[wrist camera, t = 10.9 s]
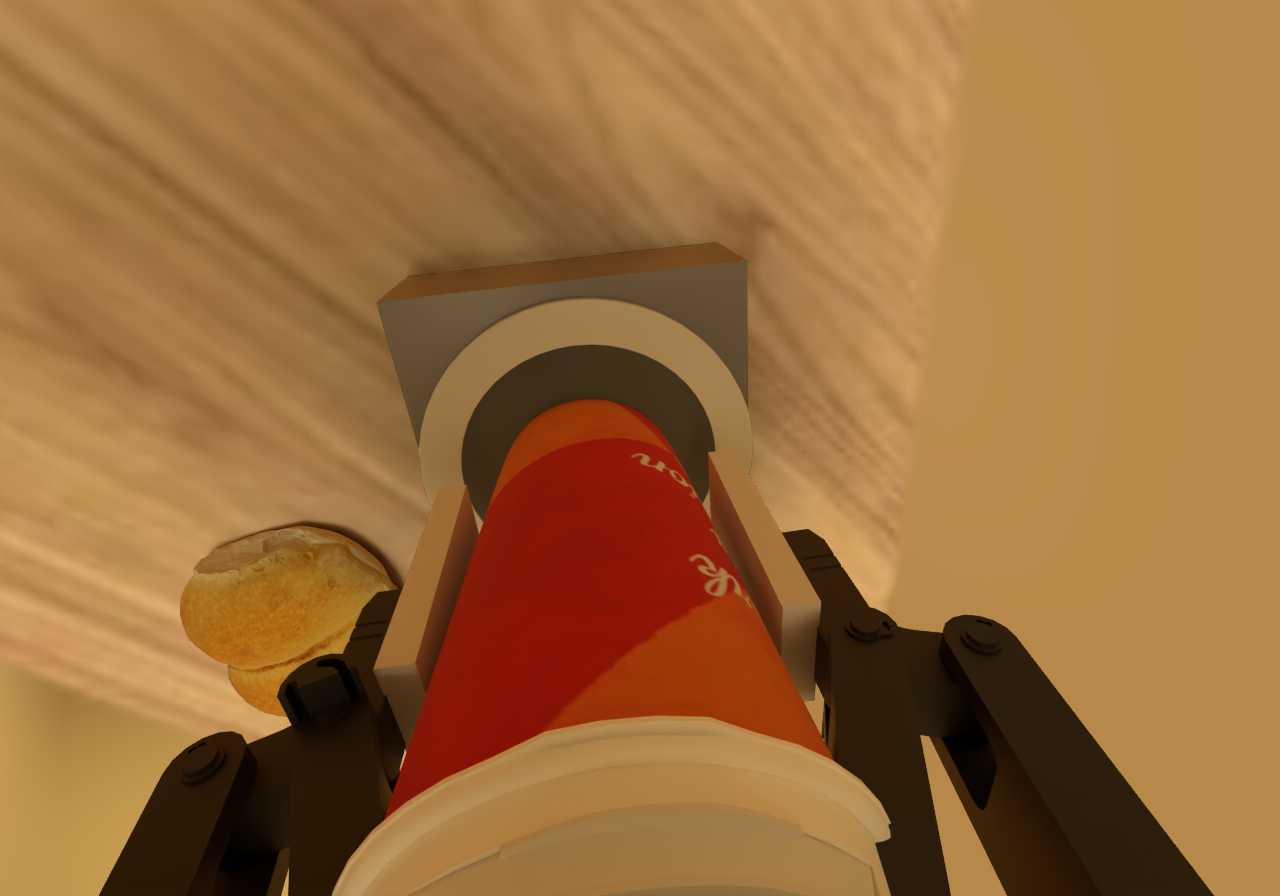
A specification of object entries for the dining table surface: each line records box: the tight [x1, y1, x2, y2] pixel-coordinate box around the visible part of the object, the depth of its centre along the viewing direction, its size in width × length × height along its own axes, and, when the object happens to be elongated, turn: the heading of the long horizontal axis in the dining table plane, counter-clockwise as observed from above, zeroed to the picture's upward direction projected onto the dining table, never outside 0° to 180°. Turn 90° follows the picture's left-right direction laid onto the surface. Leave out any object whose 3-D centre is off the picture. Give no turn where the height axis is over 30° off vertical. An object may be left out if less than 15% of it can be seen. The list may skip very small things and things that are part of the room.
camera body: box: [377, 242, 753, 533], centre depth 22 cm, size 16×11×6 cm
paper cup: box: [332, 399, 891, 896], centre depth 13 cm, size 8×8×14 cm
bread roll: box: [180, 525, 399, 717], centre depth 25 cm, size 8×9×4 cm
